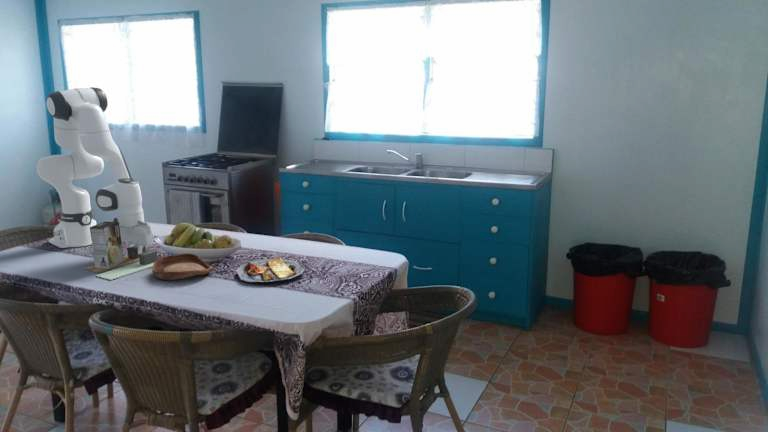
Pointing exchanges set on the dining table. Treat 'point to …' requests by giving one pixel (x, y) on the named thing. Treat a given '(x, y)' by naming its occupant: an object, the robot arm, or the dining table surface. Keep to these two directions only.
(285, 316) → the dining table surface
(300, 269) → the food plate
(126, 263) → the walnut strip
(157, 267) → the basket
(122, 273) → the sage strip
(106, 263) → the coffee box
